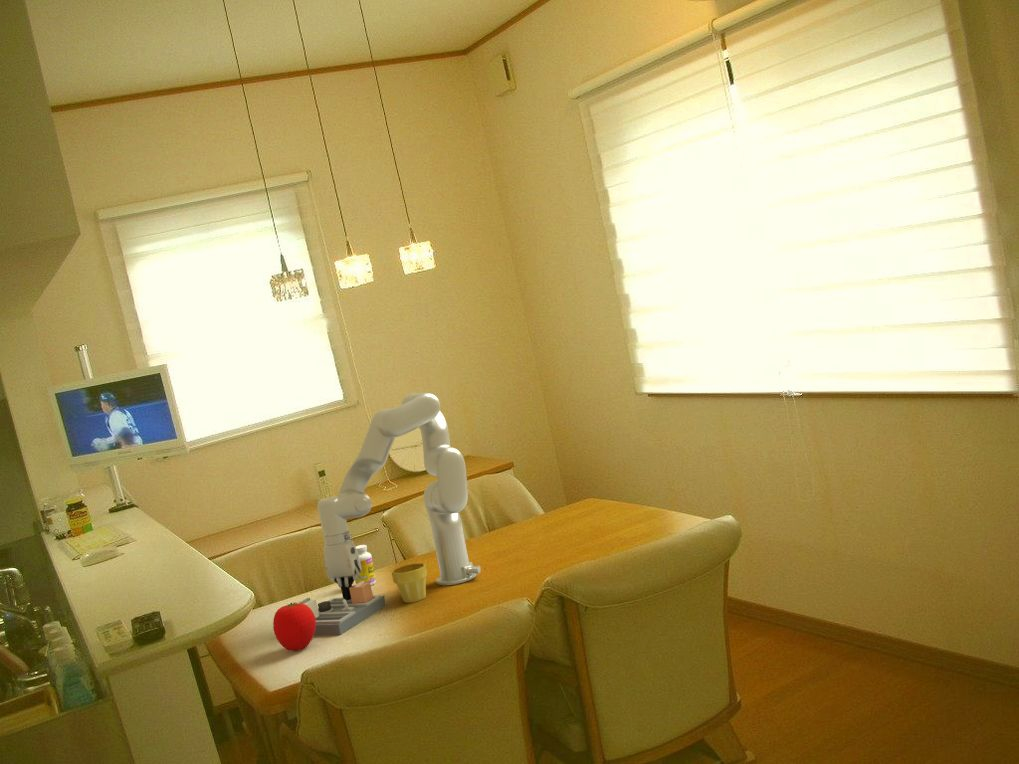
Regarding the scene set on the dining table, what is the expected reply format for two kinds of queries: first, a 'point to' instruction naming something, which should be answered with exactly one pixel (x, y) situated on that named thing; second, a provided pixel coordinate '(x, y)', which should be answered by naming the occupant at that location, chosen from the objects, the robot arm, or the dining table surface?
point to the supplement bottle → (365, 566)
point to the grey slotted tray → (346, 615)
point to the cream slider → (311, 606)
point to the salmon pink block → (361, 592)
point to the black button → (324, 606)
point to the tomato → (294, 626)
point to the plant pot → (411, 581)
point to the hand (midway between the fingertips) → (348, 598)
